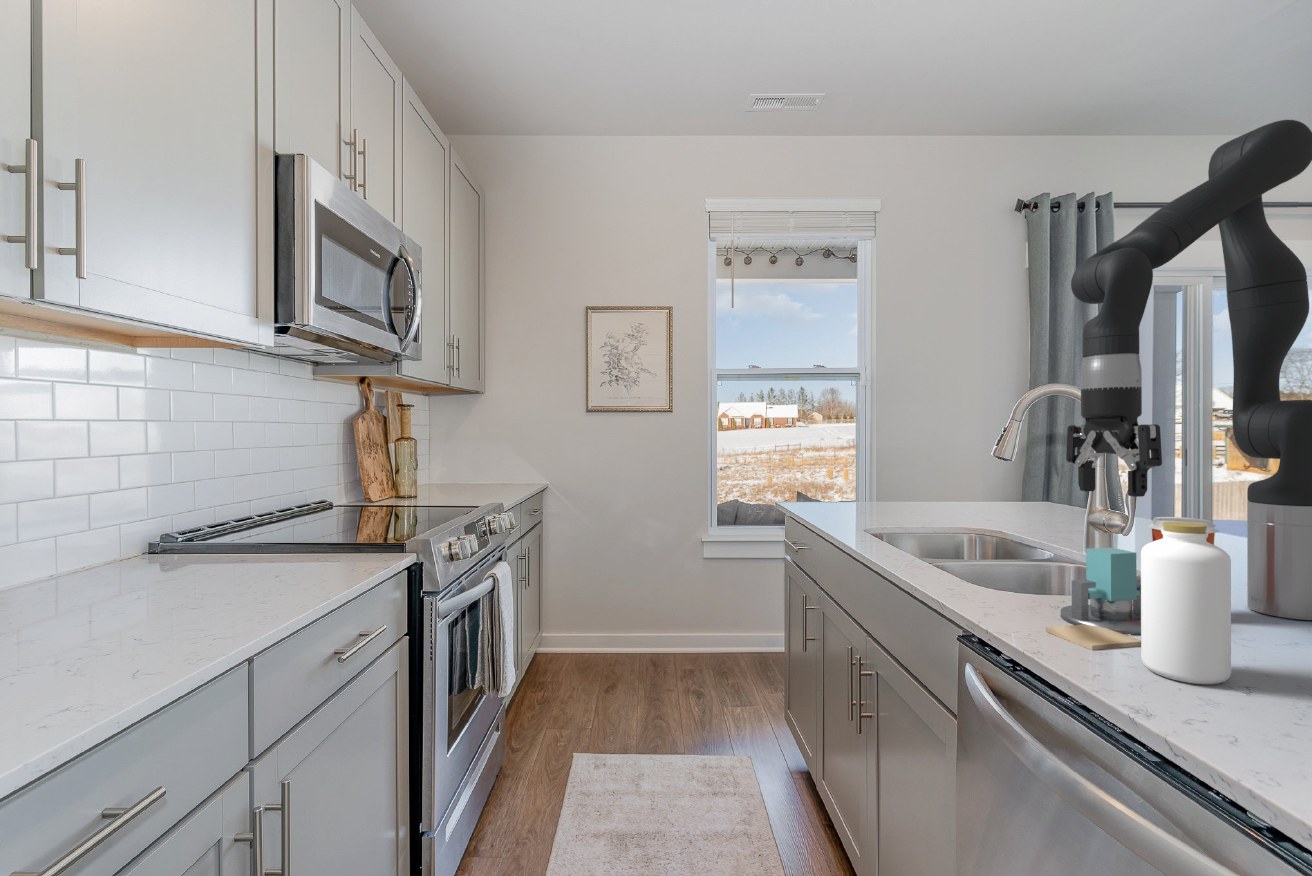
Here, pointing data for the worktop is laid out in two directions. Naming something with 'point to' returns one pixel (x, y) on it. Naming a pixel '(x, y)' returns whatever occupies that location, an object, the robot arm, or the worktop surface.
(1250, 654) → the worktop surface
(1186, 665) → the potion bottle
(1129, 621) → the grey round stand
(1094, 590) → the teal block with tabs
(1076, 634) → the coaster
